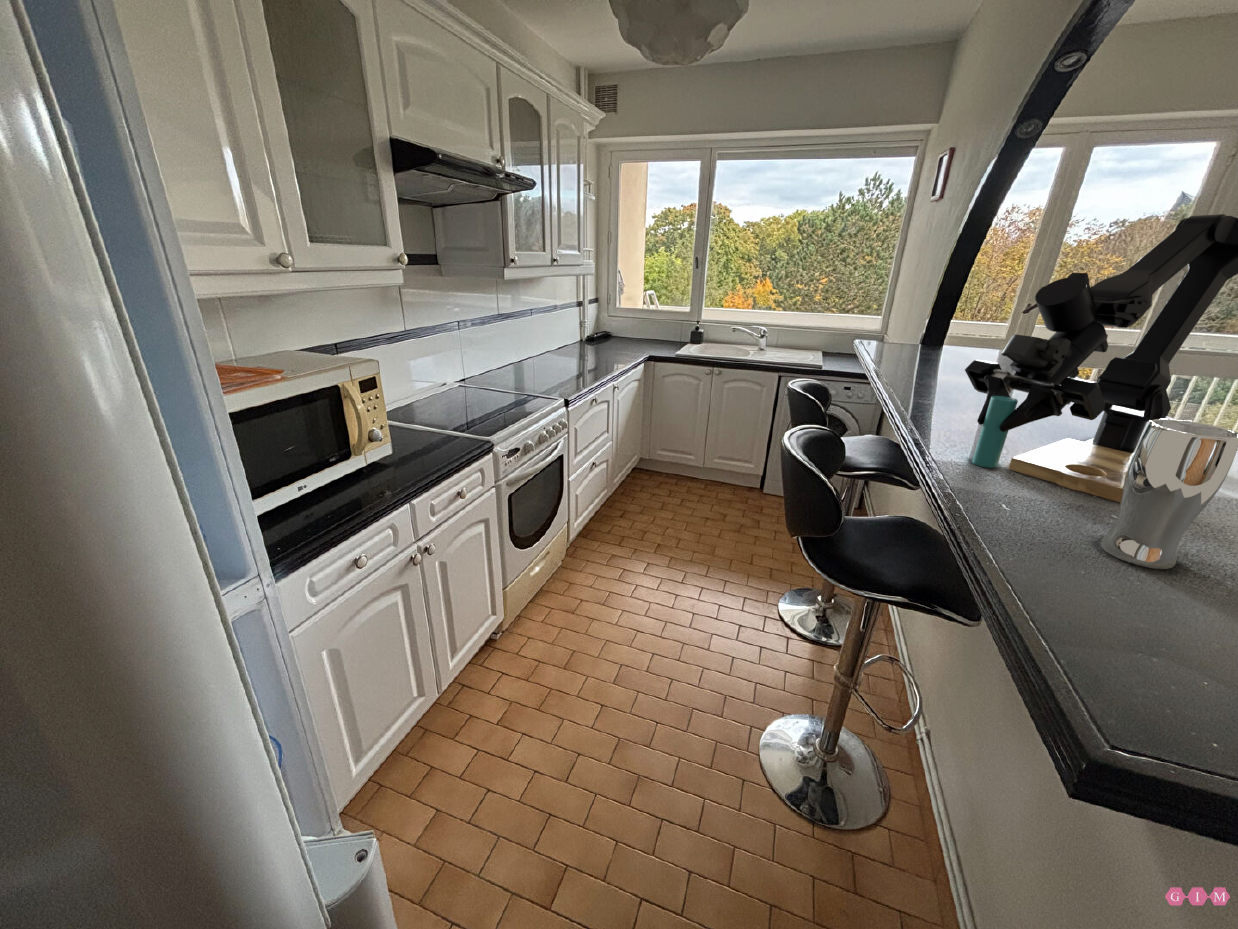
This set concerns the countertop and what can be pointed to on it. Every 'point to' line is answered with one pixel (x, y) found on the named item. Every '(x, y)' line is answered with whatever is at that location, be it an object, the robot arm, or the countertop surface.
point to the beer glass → (1168, 489)
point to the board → (1077, 467)
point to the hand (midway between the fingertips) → (989, 426)
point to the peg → (993, 432)
